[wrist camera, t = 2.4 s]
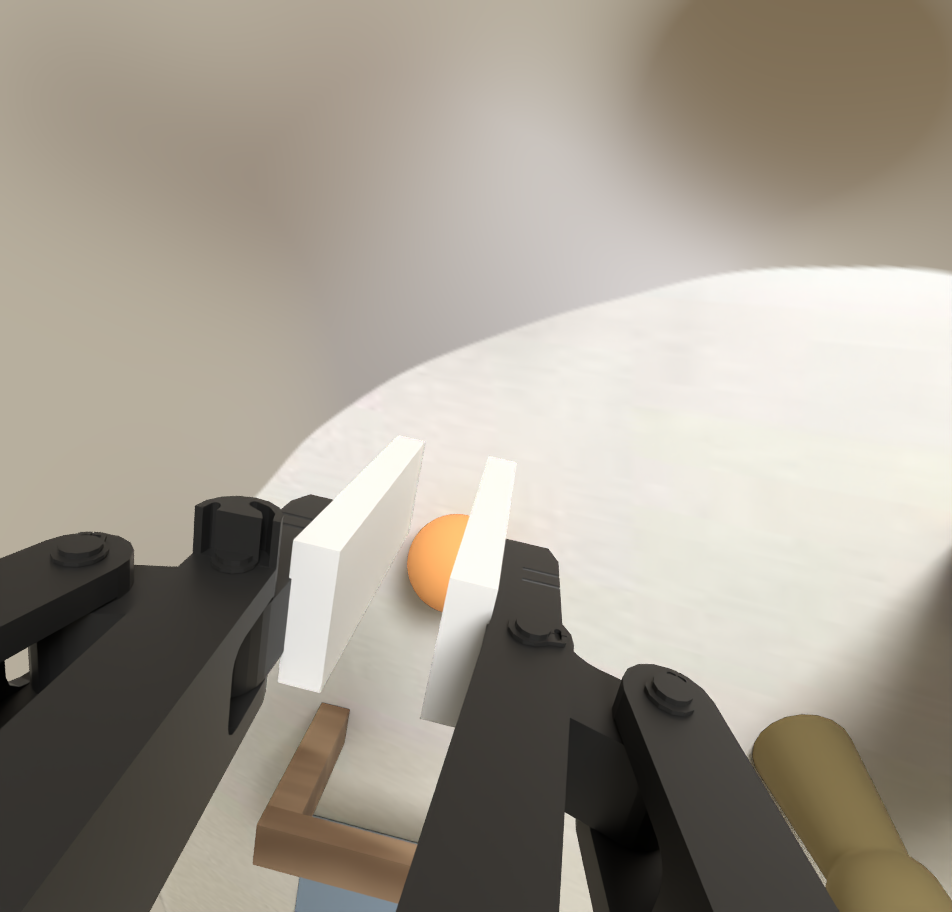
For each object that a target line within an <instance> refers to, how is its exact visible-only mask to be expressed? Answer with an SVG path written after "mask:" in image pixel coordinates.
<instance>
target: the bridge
mask: <svg viewBox="0 0 952 912" xmlns="http://www.w3.org/2000/svg"><path fill="white" fill-rule="evenodd" d="M349 711H350V710H349V709H346V708H342V707H338V706H334V705H330V704H326V703H322V704H321V706H320V707H319V709H318V711H317V713H316V715H315V717H314V719H313V721H312V722H311V724H310V726H309V728H308V730H307V732H306V734H305V736H304V737H303V739H302V741H301V743H300V745H299V747H298V749H297V750H296V752H295V754H294V756H293V758H292V760H291V762H290V764H289V765H288V767H287V769H286V771H285V773H284V775H283V777H282V779H281V780H280V782H279V784H278V786H277V788H276V790H275V792H274V794H273V795H272V797H271V799H270V801H269V803H268V805H267V807H266V809H265V810H264V812H263V814H262V816H261V818H260V820H259V822H258V823H257V828H256V838H255V847H254V856H253V864H254V865H257V866H261V867H265V868H268V869H272V870H276V871H279V872H283V873H287V874H290V875H294V876H298V877H301V878H305V879H309V880H312V881H316V882H320V883H323V884H327V885H331V886H334V887H338V888H342V889H345V890H349V891H353V892H356V893H360V894H364V895H367V896H371V897H375V898H378V899H382V900H386V901H389V902H393V903H397V904H398V903H399V900H400V897H401V894H402V890H403V887H404V884H405V881H406V878H407V875H408V872H409V869H410V866H411V863H412V860H413V857H414V853H415V850H416V847H417V844H413V843H409V842H405V841H402V840H398V839H394V838H390V837H387V836H383V835H379V834H375V833H372V832H368V831H364V830H360V829H357V828H353V827H349V826H345V825H342V824H338V823H334V822H330V821H327V820H323V819H319V818H315V817H312V816H313V814H314V811H315V809H316V807H317V805H318V802H319V800H320V798H321V795H322V793H323V791H324V789H325V786H326V784H327V782H328V779H329V777H330V775H331V773H332V770H333V768H334V766H335V763H336V761H337V759H338V756H339V754H340V752H341V750H342V747H343V745H344V742H345V736H346V730H347V724H348V718H349Z"/></svg>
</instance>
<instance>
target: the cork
mask: <svg viewBox="0 0 952 912" xmlns="http://www.w3.org/2000/svg"><path fill="white" fill-rule="evenodd" d="M752 757H753V761H754V765H755V768H756V769H757V771H758V772H759V774H760V776H761V777H762V779H763V780H764V782H765V784H766V785H767V787H768V788H769V790H770V791H771V793H772V795H773V796H774V798H775V799H776V801H777V802H778V804H779V806H780V807H781V809H782V810H783V812H784V813H785V815H786V817H787V818H788V820H789V821H790V823H791V825H792V826H793V828H794V829H795V831H796V832H797V834H798V836H799V837H800V839H801V840H802V842H803V843H804V845H805V847H806V848H807V850H808V851H809V853H810V854H811V856H812V858H813V859H814V861H815V862H816V864H817V866H818V867H819V869H820V870H821V872H822V873H823V875H824V877H825V878H826V880H827V883H826V890H827V892H828V893H829V895H830V897H831V898H832V900H833V902H834V903H835V905H836V907H837V908H838V910H839V912H952V900H951V899H950V897H949V896H948V894H947V893H946V891H945V890H944V889H943V887H942V886H941V884H940V883H939V881H938V880H937V878H936V877H935V876H934V875H933V874H932V873H931V872H930V871H929V870H928V869H927V868H926V867H925V866H923V865H922V864H921V863H919V862H918V861H916V860H915V859H913V858H912V857H910V856H909V854H908V852H907V850H906V848H905V846H904V844H903V842H902V840H901V838H900V836H899V834H898V832H897V830H896V828H895V826H894V824H893V822H892V820H891V818H890V816H889V814H888V812H887V810H886V808H885V806H884V804H883V802H882V800H881V798H880V796H879V794H878V792H877V790H876V788H875V786H874V784H873V782H872V780H871V778H870V776H869V774H868V772H867V770H866V768H865V766H864V764H863V762H862V760H861V758H860V756H859V754H858V752H857V750H856V748H855V746H854V743H853V741H852V739H851V738H850V737H849V735H848V734H847V732H846V731H845V729H844V728H842V727H841V726H840V725H838V724H837V723H835V722H834V721H833V720H830V719H827V718H824V717H821V716H818V715H803V714H801V715H796V716H790V717H785V718H783V719H781V720H779V721H776V722H774V723H772V724H771V725H769V726H768V727H767V728H766V729H765V730H764V731H762V732H761V733H760V735H759V737H758V738H757V740H756V742H755V743H754V748H753V754H752Z"/></svg>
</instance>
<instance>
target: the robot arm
mask: <svg viewBox="0 0 952 912" xmlns="http://www.w3.org/2000/svg"><path fill="white" fill-rule="evenodd" d="M425 442H426V441H422V440H417V439H413V438H409V437H404V436H400V435H398V436H397V437H396V438H395V439H394V440H393V441H392V442H391V443H390V444H389V445H388V446H387V447H386V448H385V449H384V450H383V451H382V452H381V453H380V454H379V455H378V456H377V457H376V458H375V459H374V460H373V461H372V462H371V463H370V464H369V465H368V466H367V467H366V468H365V469H364V470H363V471H362V472H361V473H360V474H359V475H358V476H357V477H356V478H355V479H354V480H353V481H352V482H351V483H350V484H349V485H348V486H347V487H346V488H345V489H344V490H343V491H342V492H341V493H340V494H339V495H338V496H337V497H336V498H335V499H334V500H332V499H328V498H323V497H319V496H315V495H311V494H310V495H307V496H304V497H301V498H298V499H295V500H292V501H290V502H289V503H288V504H287V505H286V506H284V507H283V508H282V509H280V508H279V507H277V506H276V505H274V504H272V503H271V502H268V501H265V500H262V499H258V498H253V497H243V496H227V497H218V498H214V499H209V500H206V501H204V502H202V503H200V504H197V505H196V506H195V517H194V539H193V553H192V554H191V556H189V557H188V558H187V559H186V560H185V561H184V562H183V563H182V564H180V566H178V567H167V566H166V567H165V566H146V565H134V549H133V547H132V545H131V543H130V542H129V541H127V540H125V539H123V538H122V537H119V536H115V535H110V534H106V533H101V532H94V533H92V532H80V533H78V534H70V535H63V536H60V537H56V538H53V539H49V540H46V541H44V542H41V543H38V544H36V545H33V546H31V547H28V548H26V549H23V550H21V551H18V552H16V553H13V554H11V555H8V556H5V557H3V558H0V912H150V910H151V908H152V906H153V904H154V902H155V901H156V899H157V897H158V895H159V893H160V891H161V889H162V888H163V886H164V884H165V882H166V880H167V878H168V876H169V875H170V873H171V871H172V869H173V867H174V865H175V864H176V862H177V860H178V858H179V856H180V854H181V852H182V851H183V849H184V847H185V845H186V843H187V841H188V840H189V838H190V836H191V834H192V832H193V830H194V828H195V827H196V825H197V823H198V821H199V819H200V817H201V816H202V814H203V812H204V810H205V808H206V806H207V804H208V803H209V801H210V799H211V797H212V795H213V793H214V791H215V790H216V788H217V786H218V784H219V782H220V780H221V779H222V777H223V775H224V773H225V771H226V769H227V767H228V766H229V764H230V762H231V760H232V758H233V756H234V755H235V753H236V751H237V749H238V747H239V745H240V743H241V742H242V740H243V738H244V736H245V734H246V732H247V731H248V729H249V727H250V725H251V723H252V721H253V719H254V718H255V716H256V714H257V712H258V710H259V708H260V707H261V705H262V703H263V700H264V696H265V692H266V683H267V674H268V673H269V672H270V670H271V669H272V667H273V666H274V665H275V663H276V662H277V660H278V659H279V658H280V665H279V674H278V683H282V684H286V685H290V686H294V687H298V688H302V689H306V690H310V691H314V692H318V693H321V691H322V689H323V687H324V686H325V684H326V682H327V680H328V678H329V677H330V675H331V673H332V671H333V669H334V668H335V666H336V664H337V662H338V660H339V658H340V657H341V655H342V653H343V651H344V649H345V648H346V646H347V644H348V642H349V640H350V638H351V637H352V635H353V633H354V631H355V629H356V628H357V626H358V624H359V622H360V620H361V619H362V617H363V615H364V613H365V611H366V609H367V608H368V606H369V604H370V602H371V600H372V599H373V597H374V595H375V593H376V591H377V589H378V588H379V586H380V584H381V582H382V580H383V579H384V577H385V575H386V573H387V571H388V570H389V568H390V566H391V564H392V562H393V560H394V559H395V557H396V555H397V553H398V551H399V550H400V548H401V546H402V544H403V542H404V541H405V539H406V537H407V535H408V533H409V530H410V525H411V519H412V514H413V508H414V503H415V497H416V492H417V486H418V481H419V475H420V470H421V464H422V459H423V453H424V448H425ZM516 464H517V462H514V461H509V460H505V459H501V458H496V457H492V456H489V457H488V461H487V464H486V467H485V470H484V473H483V476H482V479H481V482H480V486H479V489H478V492H477V495H476V498H475V501H474V504H473V507H472V510H471V514H470V517H469V520H468V523H467V526H466V529H465V532H464V535H463V539H462V542H461V545H460V548H459V551H458V554H457V557H456V560H455V564H454V567H453V570H452V573H451V576H450V580H449V584H448V589H447V594H446V599H445V603H444V608H443V613H442V617H441V622H440V627H439V632H438V636H437V641H436V646H435V650H434V655H433V660H432V665H431V669H430V674H429V679H428V683H427V688H426V693H425V698H424V702H423V707H422V712H421V716H420V719H424V720H428V721H432V722H435V723H439V724H443V725H447V726H451V727H455V730H454V733H453V736H452V739H451V742H450V745H449V748H448V752H447V755H446V758H445V761H444V764H443V767H442V770H441V773H440V776H439V779H438V782H437V786H436V789H435V792H434V795H433V798H432V801H431V804H430V807H429V810H428V813H427V816H426V819H425V823H424V826H423V829H422V832H421V835H420V838H419V841H418V844H417V847H416V850H415V853H414V857H413V860H412V863H411V866H410V869H409V872H408V875H407V878H406V881H405V884H404V887H403V890H402V894H401V897H400V900H399V903H398V906H397V909H396V912H559V904H560V886H561V868H562V850H563V832H564V814H565V812H566V813H567V814H569V815H571V816H572V817H574V818H576V833H577V837H578V842H579V847H580V851H581V856H582V861H583V865H584V870H585V875H586V879H587V884H588V889H589V893H590V898H591V903H592V907H593V912H839V910H838V908H837V907H836V905H835V903H834V902H833V900H832V898H831V897H830V895H829V893H828V892H827V890H826V888H825V887H824V885H823V883H822V882H821V880H820V878H819V877H818V875H817V873H816V872H815V870H814V868H813V867H812V865H811V863H810V862H809V860H808V858H807V857H806V855H805V853H804V852H803V850H802V848H801V847H800V845H799V843H798V842H797V840H796V838H795V837H794V835H793V833H792V832H791V830H790V828H789V827H788V825H787V823H786V822H785V820H784V818H783V817H782V815H781V813H780V812H779V810H778V808H777V807H776V805H775V803H774V802H773V800H772V798H771V797H770V795H769V793H768V792H767V790H766V788H765V787H764V785H763V783H762V782H761V780H760V778H759V777H758V775H757V773H756V772H755V770H754V768H753V767H752V765H751V763H750V762H749V760H748V758H747V757H746V755H745V753H744V752H743V750H742V748H741V747H740V745H739V743H738V742H737V740H736V738H735V737H734V735H733V733H732V732H731V730H730V728H729V727H728V725H727V723H726V722H725V720H724V718H723V717H722V715H721V713H720V712H719V710H718V708H717V707H716V705H715V703H714V702H713V701H712V699H711V698H710V697H709V696H708V695H707V693H706V692H705V691H704V690H703V689H702V688H701V687H699V686H698V685H697V684H696V683H694V682H693V681H692V680H690V679H689V678H688V677H686V676H684V675H683V674H681V673H678V672H677V671H674V670H672V669H669V668H665V667H662V666H658V665H654V664H638V665H635V666H633V667H630V668H628V669H627V671H626V672H625V674H624V676H623V677H622V680H620V679H618V678H616V677H614V676H612V675H609V674H607V673H605V672H603V671H601V670H599V669H597V668H595V667H594V666H592V665H590V664H588V663H587V662H585V661H584V660H583V659H582V658H580V657H579V656H578V655H577V654H576V653H575V652H574V644H573V640H572V636H571V634H570V633H569V632H568V631H567V629H566V628H565V627H564V626H563V625H562V613H561V597H560V589H559V588H560V581H559V565H558V561H557V560H556V559H555V557H554V556H553V555H552V553H551V552H550V551H549V549H547V548H543V547H539V546H534V545H530V544H526V543H522V542H517V541H513V540H509V539H506V533H507V526H508V519H509V512H510V505H511V498H512V492H513V485H514V478H515V471H516ZM27 647H28V654H29V655H28V656H29V670H30V671H29V672H28V673H26V674H24V675H23V676H21V677H19V678H16V679H14V680H12V681H9V682H8V681H7V679H6V674H5V662H4V660H6V659H8V658H9V657H11V656H13V655H15V654H17V653H18V652H20V651H22V650H24V649H26V648H27Z"/></svg>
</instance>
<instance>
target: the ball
mask: <svg viewBox="0 0 952 912" xmlns="http://www.w3.org/2000/svg"><path fill="white" fill-rule="evenodd" d="M469 517H470V516H468V515H463V514H451V515H446V516H442V517H439V518H437V519H435V520H433V521H431V522H430V523H428V524H427V525H426V526H424V527H423V528H422V529H421V530H420V532H419V533H418V534H417V535H416V537H415V539H414V540H413V542H412V544H411V547H410V550H409V554H408V561H407V569H408V575H409V579H410V582H411V585H412V587H413V589H414V590H415V592H416V593H417V595H418V596H419V597H420V599H421V600H422V601H424V602H425V603H426V604H427V605H429V606H430V607H432V608H434V609H436V610H438V611H440V612H443V608H444V603H445V599H446V594H447V589H448V584H449V580H450V576H451V573H452V570H453V567H454V564H455V560H456V557H457V554H458V551H459V548H460V545H461V542H462V539H463V535H464V532H465V529H466V526H467V523H468V520H469Z"/></svg>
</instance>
